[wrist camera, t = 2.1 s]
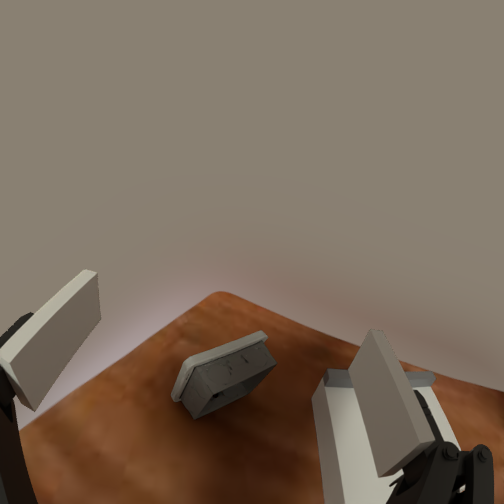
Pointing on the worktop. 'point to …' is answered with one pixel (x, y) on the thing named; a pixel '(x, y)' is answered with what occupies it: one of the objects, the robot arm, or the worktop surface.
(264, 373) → the electrical switch
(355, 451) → the white square box
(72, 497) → the worktop surface
